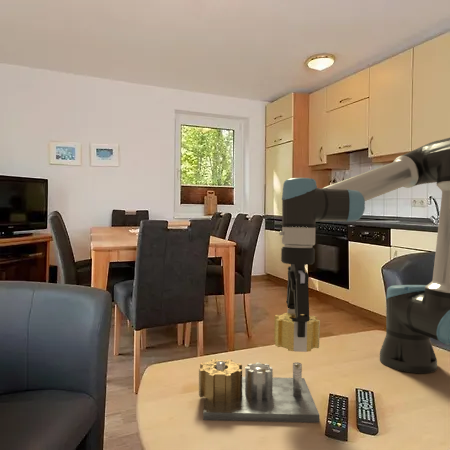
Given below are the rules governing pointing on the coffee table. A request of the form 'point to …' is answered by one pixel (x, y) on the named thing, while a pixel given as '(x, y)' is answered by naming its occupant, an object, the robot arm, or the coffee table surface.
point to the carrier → (266, 398)
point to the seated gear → (220, 381)
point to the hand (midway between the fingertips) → (296, 343)
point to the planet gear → (286, 332)
